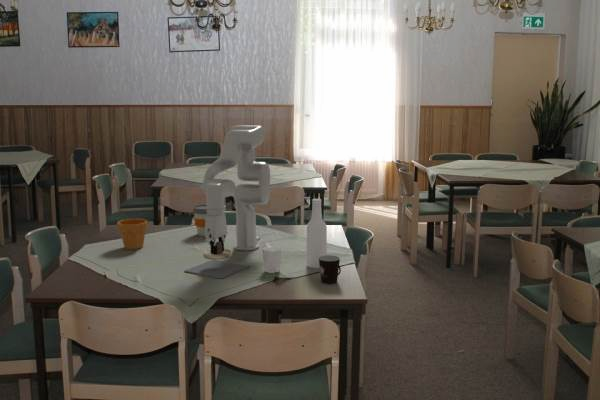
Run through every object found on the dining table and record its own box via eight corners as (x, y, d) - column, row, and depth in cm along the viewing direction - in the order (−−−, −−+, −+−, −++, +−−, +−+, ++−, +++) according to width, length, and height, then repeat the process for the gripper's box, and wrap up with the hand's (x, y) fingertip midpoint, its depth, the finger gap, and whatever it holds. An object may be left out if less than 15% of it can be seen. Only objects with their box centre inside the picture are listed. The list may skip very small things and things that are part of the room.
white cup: (279, 274, 264) (278, 251, 262) (261, 273, 265) (260, 250, 263) (283, 268, 271) (283, 246, 269) (265, 267, 273) (265, 245, 271)
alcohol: (304, 263, 278) (304, 198, 273) (323, 262, 280) (323, 197, 275) (309, 269, 270) (309, 201, 264) (328, 268, 272) (329, 200, 266)
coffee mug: (317, 278, 257) (317, 255, 255) (338, 278, 258) (338, 254, 256) (320, 287, 246) (320, 263, 244) (342, 287, 247) (342, 262, 245)
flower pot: (113, 249, 303) (111, 223, 300) (128, 242, 316) (127, 217, 314) (139, 251, 299) (137, 225, 297) (153, 244, 313) (152, 219, 310)
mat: (213, 260, 284) (213, 259, 284) (249, 266, 274) (249, 265, 274) (184, 271, 267) (184, 270, 267) (221, 279, 257) (221, 277, 257)
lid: (214, 249, 278) (214, 237, 277) (236, 253, 272) (236, 241, 271) (197, 257, 268) (197, 244, 267) (220, 261, 262) (220, 248, 261)
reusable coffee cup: (195, 237, 326) (194, 209, 324) (193, 232, 338) (192, 205, 336) (219, 236, 329) (218, 208, 326) (216, 230, 341) (215, 204, 338)
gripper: (220, 206, 275) (222, 246, 279) (196, 214, 261) (198, 256, 265) (234, 208, 271) (235, 248, 275) (210, 216, 257) (212, 258, 261)
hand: (217, 252), depth 270 cm, fingers closed on lid, 4 cm apart
